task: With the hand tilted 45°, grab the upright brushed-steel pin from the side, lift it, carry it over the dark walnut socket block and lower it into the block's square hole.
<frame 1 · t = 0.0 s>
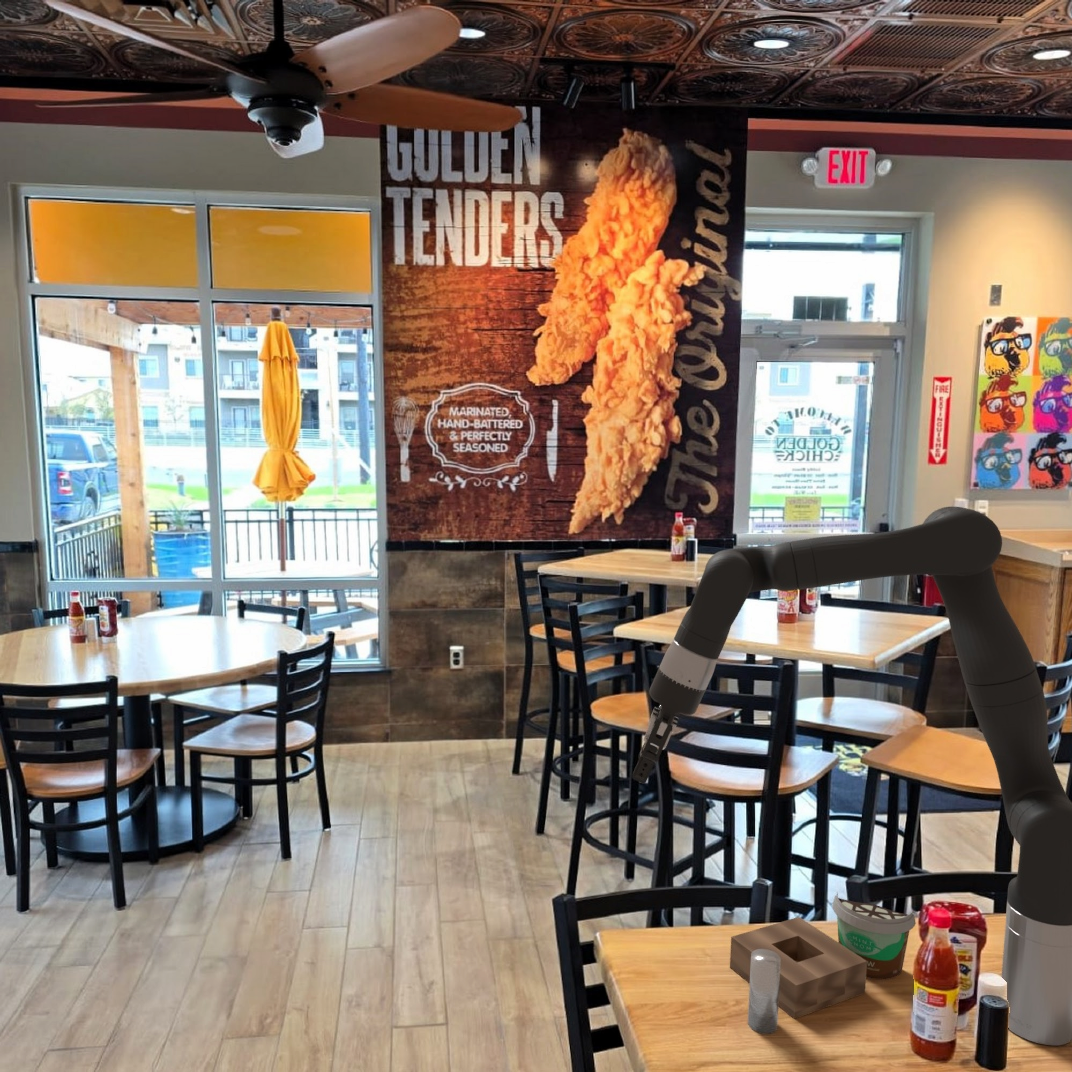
hand: (641, 770, 135), 31 cm above the table, tool tilted 20°, fingers open, 8 cm apart
socket block: (796, 979, 136), on the table
food container: (867, 972, 139), on the table
steel pin: (762, 1024, 125), on the table
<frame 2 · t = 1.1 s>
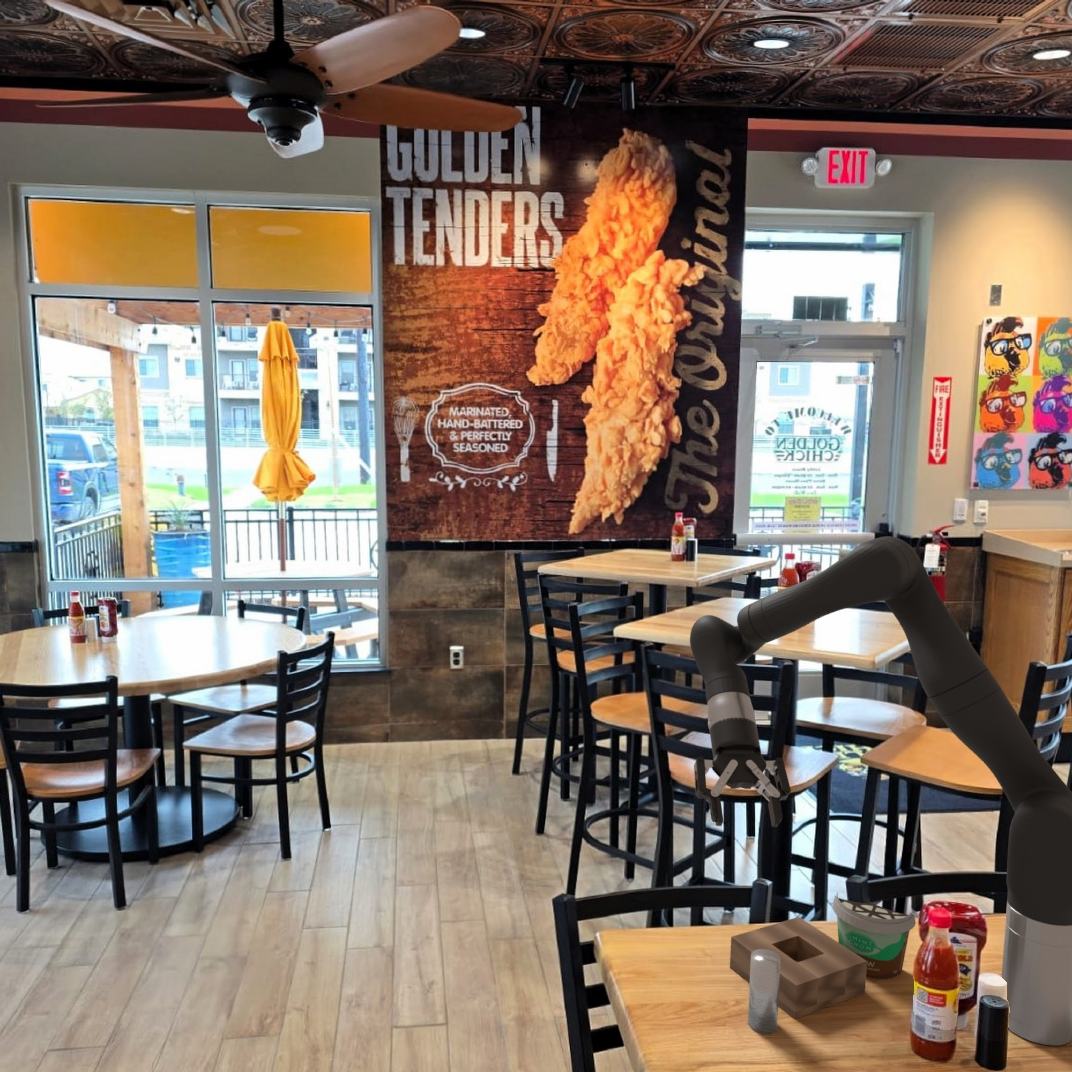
hand: (748, 824, 134), 24 cm above the table, tool tilted 45°, fingers open, 8 cm apart
nothing on the table moved.
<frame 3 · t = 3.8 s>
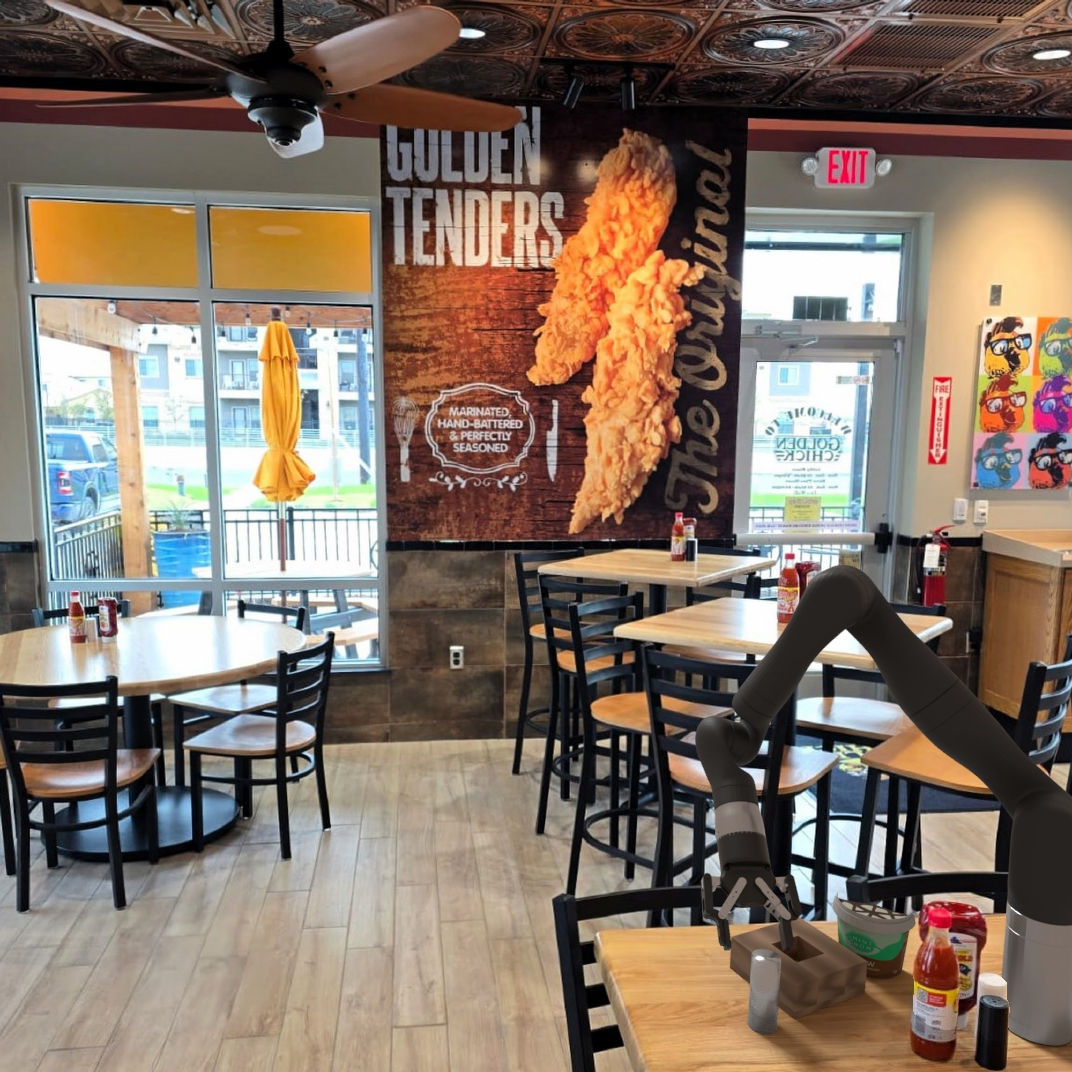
hand: (757, 949, 128), 9 cm above the table, tool tilted 45°, fingers open, 8 cm apart
nothing on the table moved.
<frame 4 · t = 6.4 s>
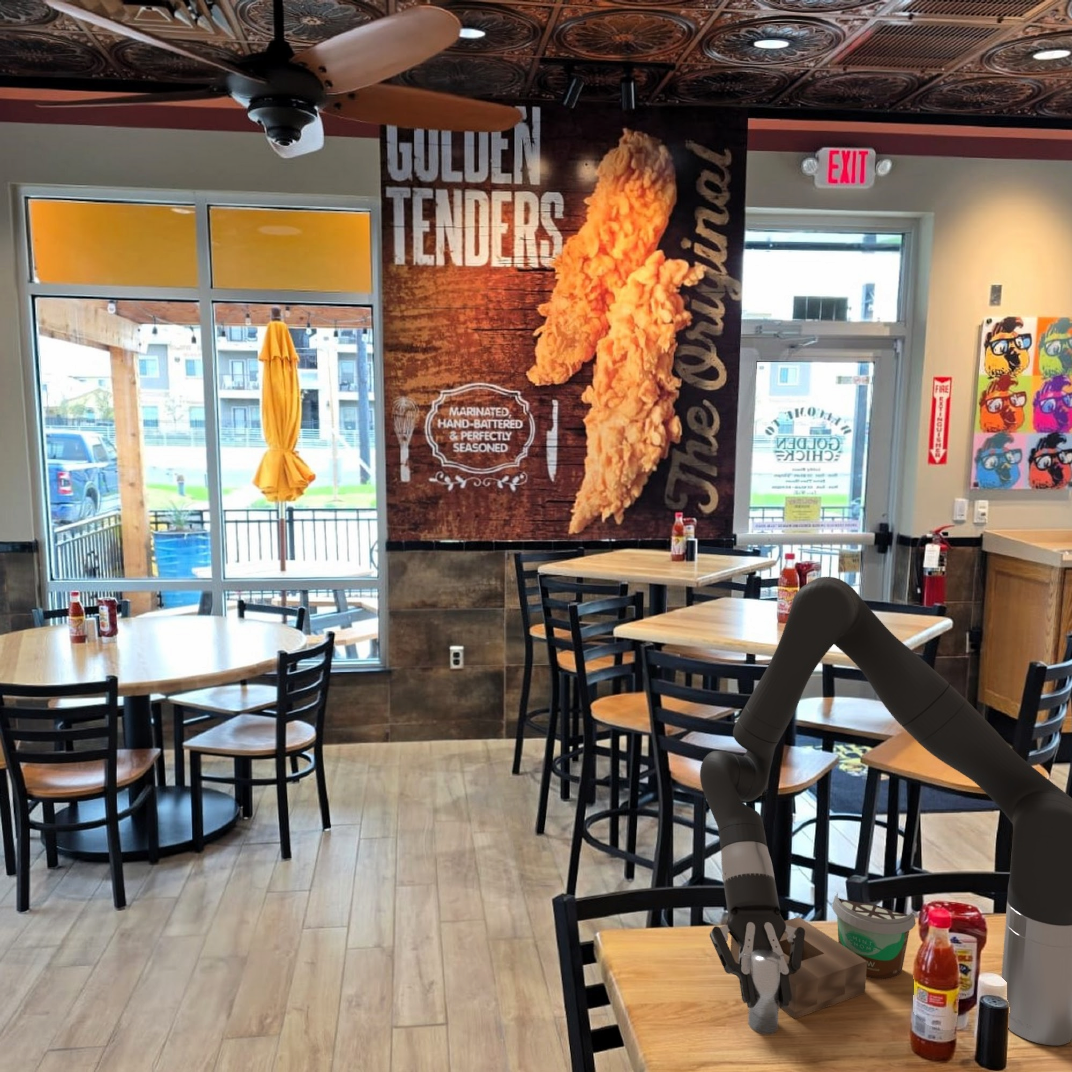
hand: (768, 1005, 123), 4 cm above the table, tool tilted 45°, fingers closed on steel pin, 4 cm apart
steel pin: (762, 1024, 125), on the table, touching gripper
everything else where it was.
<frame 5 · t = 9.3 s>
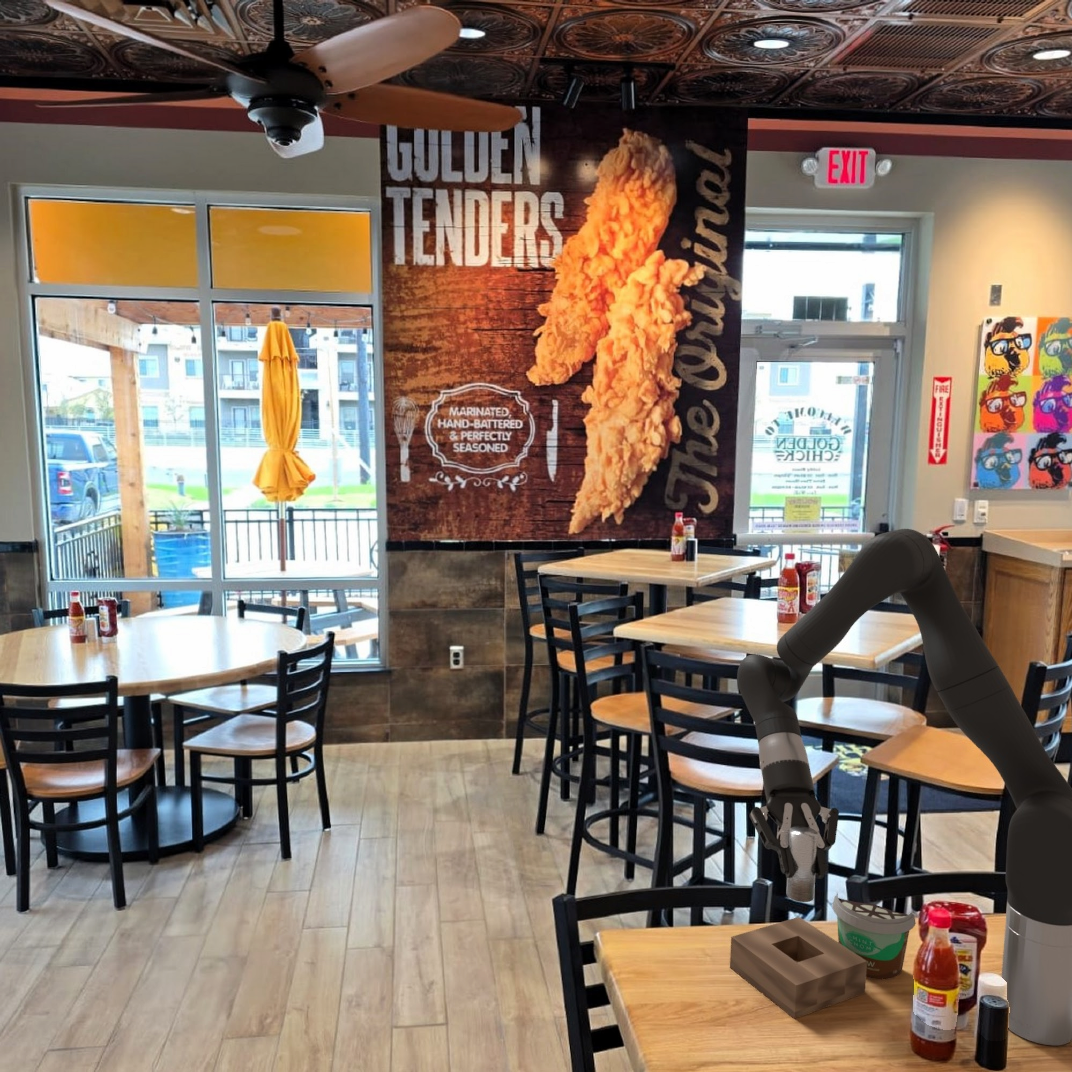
hand: (805, 875, 132), 17 cm above the table, tool tilted 45°, fingers closed on steel pin, 4 cm apart
steel pin: (800, 895, 135), point 13 cm above the table, touching gripper
everything else where it was.
when the fingers open (6 cm above the table, at t = 12.2 s): steel pin stays where it is, resting on socket block.
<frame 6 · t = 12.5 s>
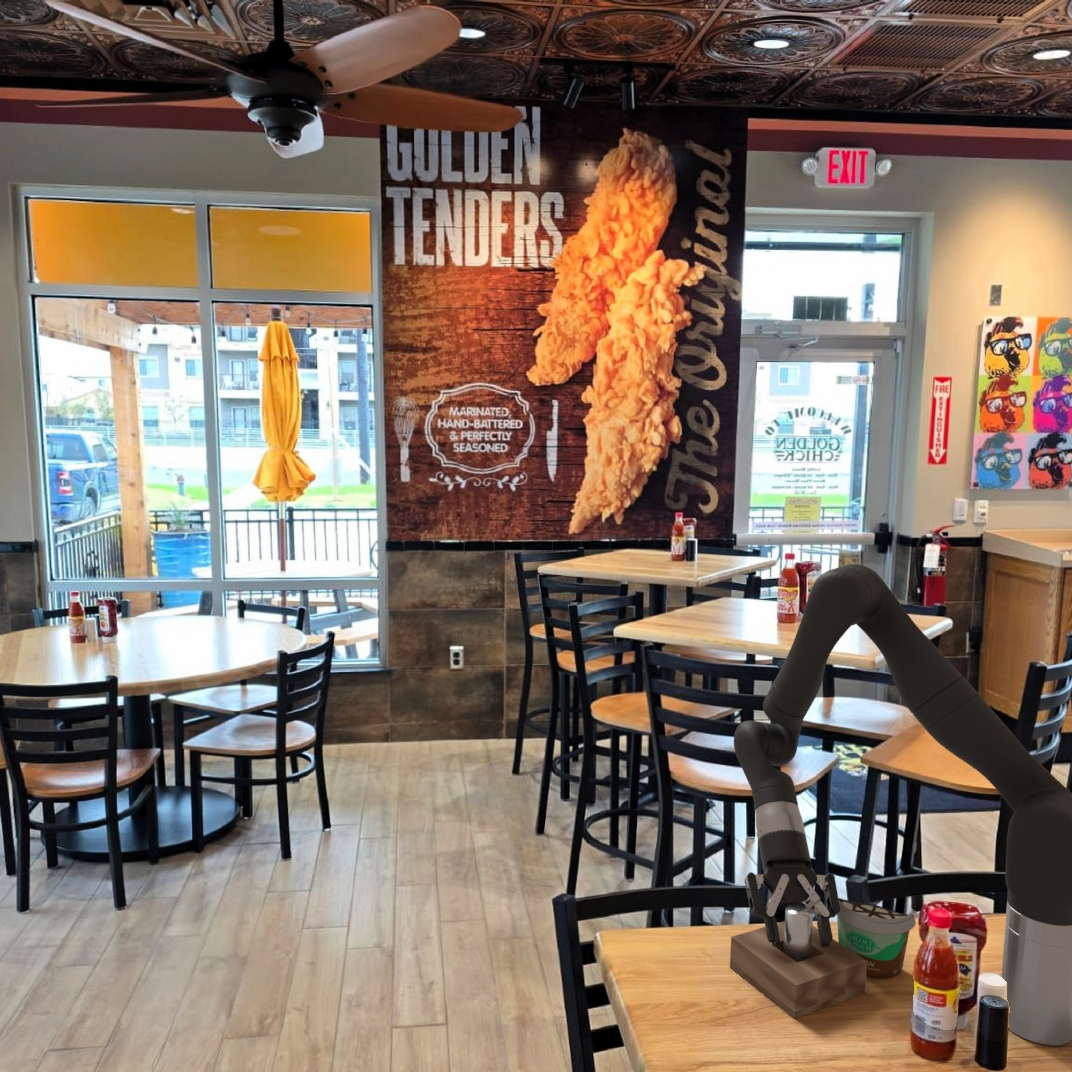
hand: (801, 945, 134), 6 cm above the table, tool tilted 45°, fingers open, 7 cm apart
steel pin: (795, 973, 136), point 1 cm above the table, touching socket block
everything else where it was.
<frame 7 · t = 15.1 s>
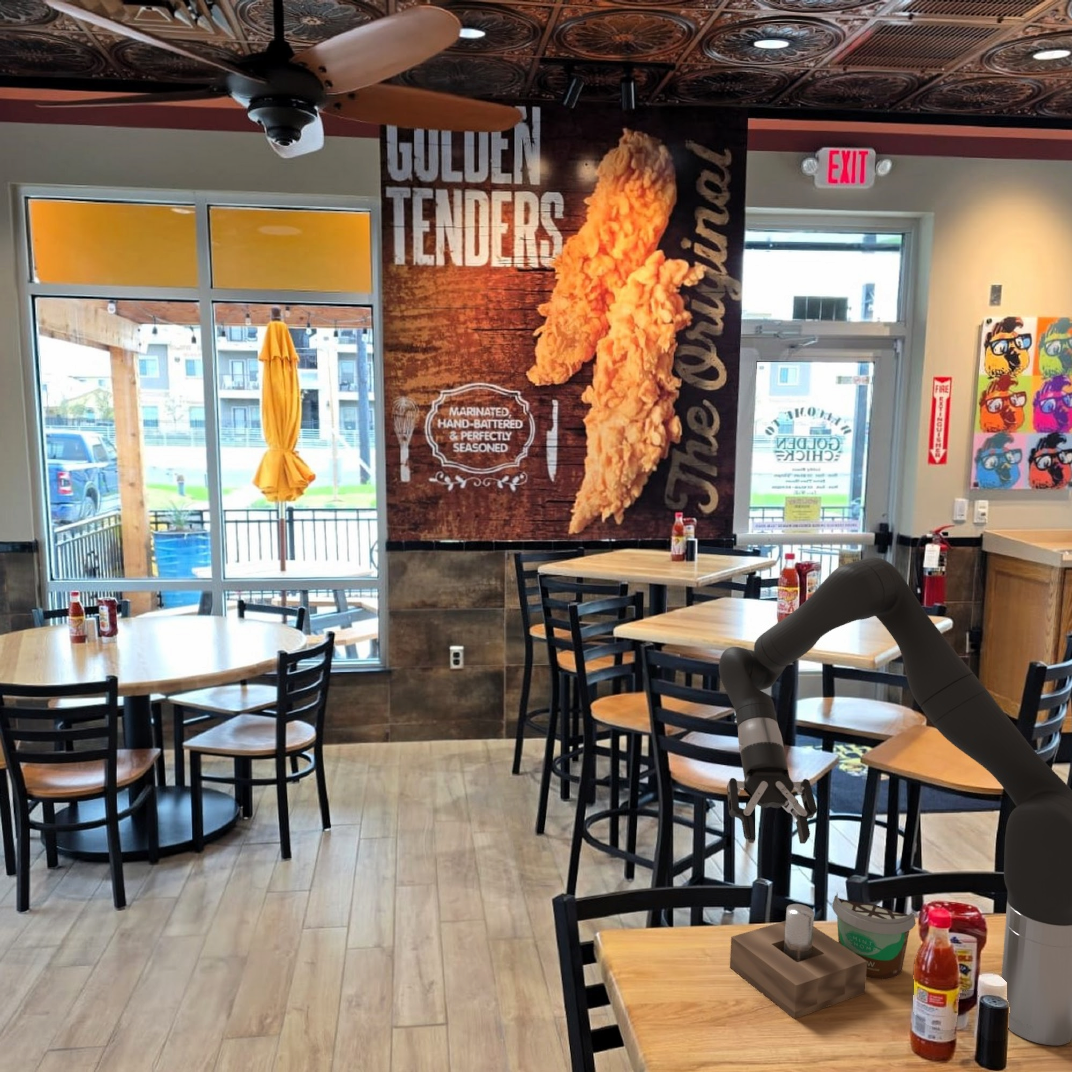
hand: (778, 841, 146), 17 cm above the table, tool tilted 45°, fingers open, 8 cm apart
nothing on the table moved.
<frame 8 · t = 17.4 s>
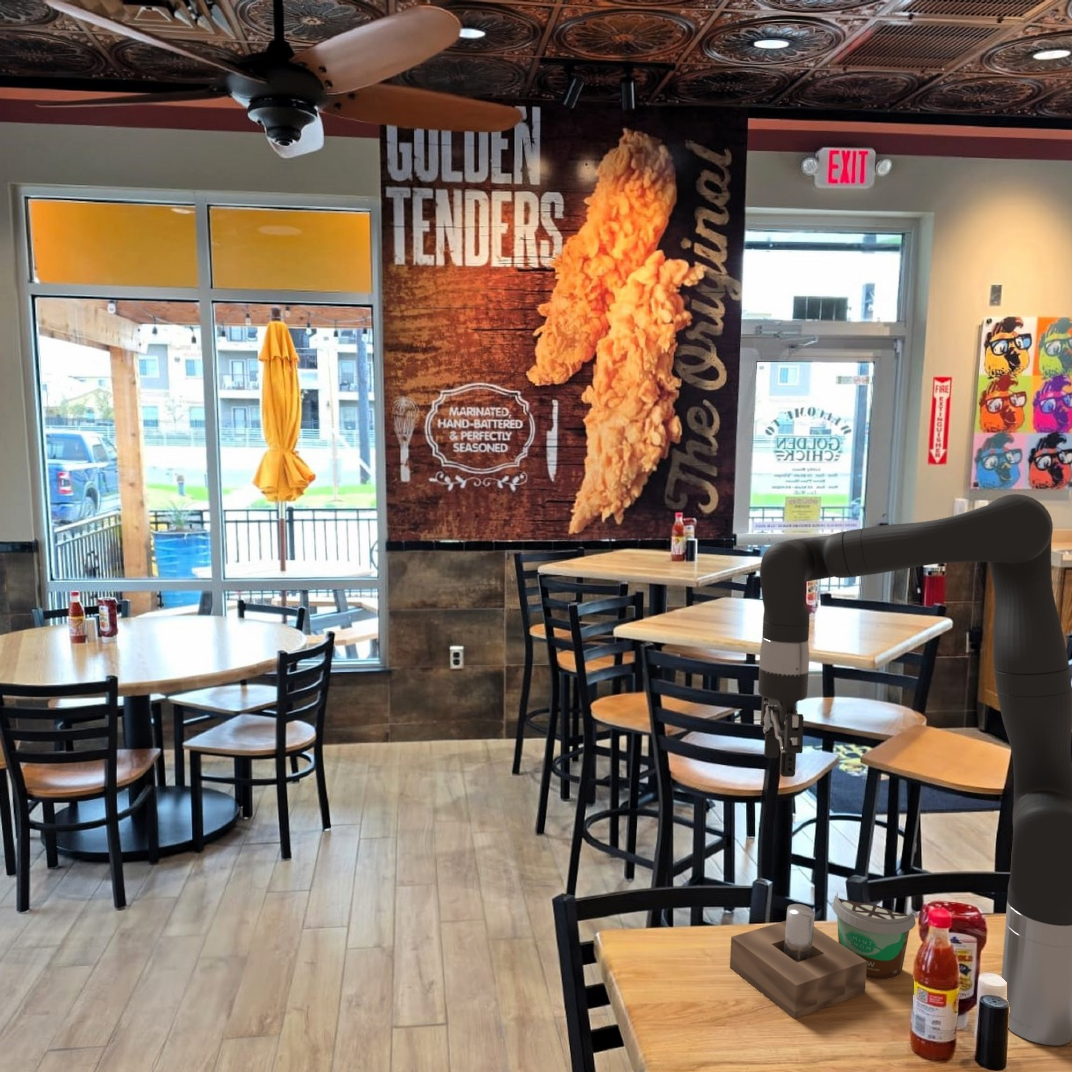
hand: (778, 766, 142), 30 cm above the table, tool pointing down, fingers open, 8 cm apart
nothing on the table moved.
at the end: steel pin 0.1 cm off-centre on the socket block, point 1.0 cm above the socket block's base; steel pin tilted 1°; the gripper is holding nothing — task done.
